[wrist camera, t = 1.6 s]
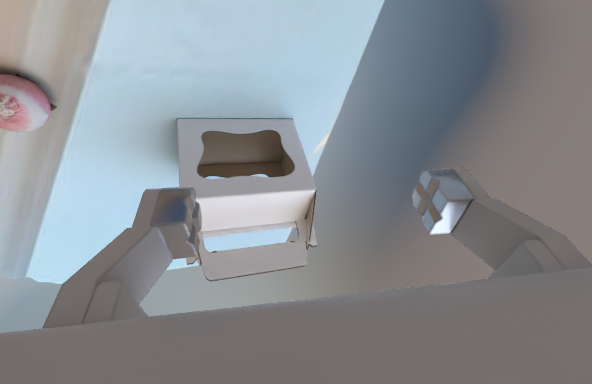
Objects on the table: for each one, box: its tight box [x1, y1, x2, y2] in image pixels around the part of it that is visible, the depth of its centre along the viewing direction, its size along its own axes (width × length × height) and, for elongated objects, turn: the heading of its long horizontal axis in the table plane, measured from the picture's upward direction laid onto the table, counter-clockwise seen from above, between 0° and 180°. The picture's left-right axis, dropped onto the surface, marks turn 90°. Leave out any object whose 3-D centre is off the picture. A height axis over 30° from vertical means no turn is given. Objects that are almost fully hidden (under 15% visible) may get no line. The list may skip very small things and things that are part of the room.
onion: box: [0, 74, 56, 132], centre depth 41 cm, size 8×8×7 cm
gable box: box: [177, 119, 317, 281], centre depth 54 cm, size 22×13×28 cm, turn 77°
